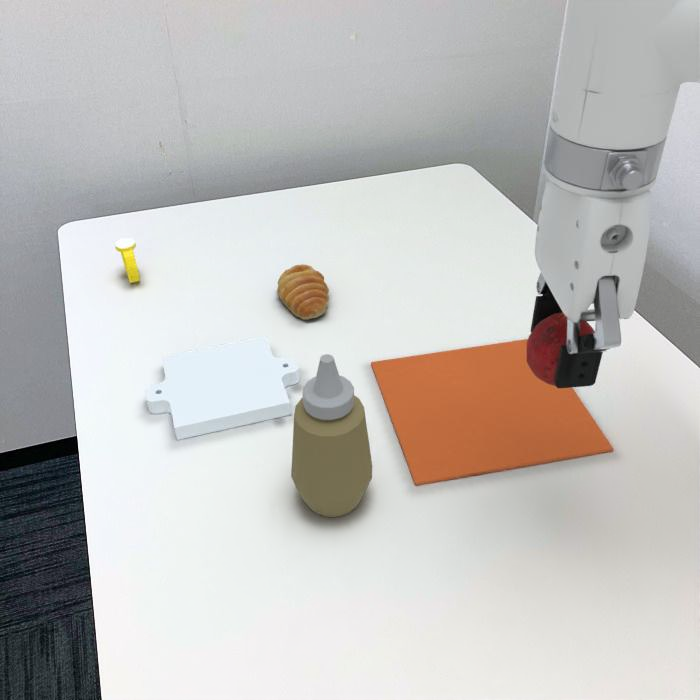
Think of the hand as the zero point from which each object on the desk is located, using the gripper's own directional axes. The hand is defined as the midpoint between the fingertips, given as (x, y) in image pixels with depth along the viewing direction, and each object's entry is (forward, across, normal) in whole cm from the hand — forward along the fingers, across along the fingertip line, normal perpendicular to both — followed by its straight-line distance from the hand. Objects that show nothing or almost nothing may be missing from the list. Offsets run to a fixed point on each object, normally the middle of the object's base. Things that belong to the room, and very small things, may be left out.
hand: (561, 356), depth 61 cm
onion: (+3, 0, 0) cm, 3 cm away
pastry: (+19, +38, +21) cm, 48 cm away
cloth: (+19, +15, +1) cm, 25 cm away
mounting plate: (+19, +21, +31) cm, 42 cm away
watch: (+19, +47, +46) cm, 68 cm away
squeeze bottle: (+19, +4, +20) cm, 28 cm away
